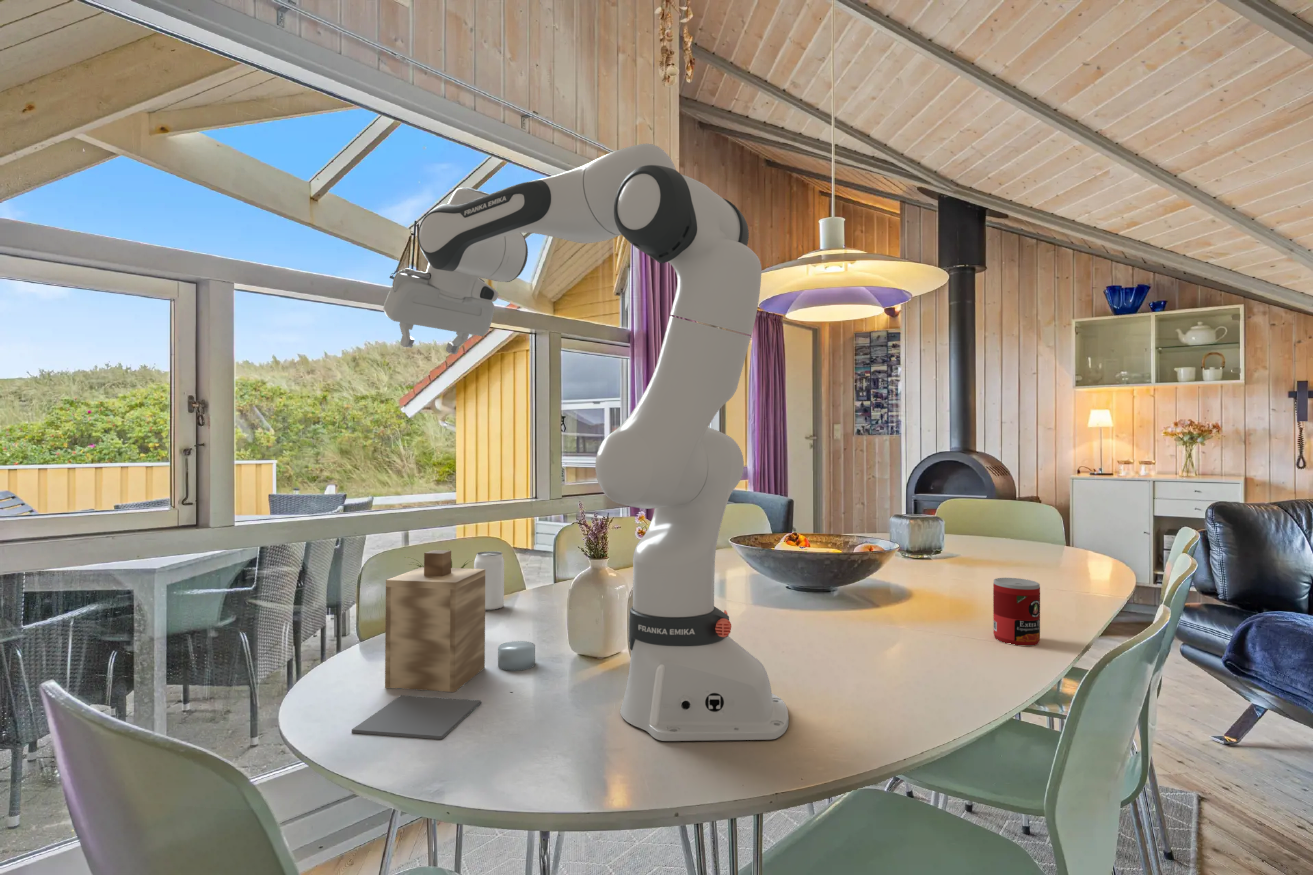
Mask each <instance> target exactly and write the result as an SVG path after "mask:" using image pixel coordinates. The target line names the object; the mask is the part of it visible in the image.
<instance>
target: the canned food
mask: <svg viewBox="0 0 1313 875" xmlns="http://www.w3.org/2000/svg"><path fill="white" fill-rule="evenodd" d="M992 589H993V590H992V591H993V593H992V595H993V597H992V598H993V599H992V600H993V604H992V605H993V606H992V607H993V610H992V611H993V612H992V613H993V615H992V616H993V625H992V626H993V636H994V638H995V640H997V639H998V640H999V642H1000V641H1002V642H1001V643H1003V642H1005V643H1004V644H1007V643H1011V644H1015V645H1014V646H1018V645H1034V646H1037V645H1039V643H1040V640H1041V584H1040V582H1037V581H1035V580H1030V579H1025V578H1019V577H1018V578H1017V577H996V578H994V579H993V588H992ZM998 640H997V641H998ZM1011 644H1010V645H1011Z"/></svg>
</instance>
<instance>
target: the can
mask: <svg viewBox="0 0 1313 875" xmlns="http://www.w3.org/2000/svg"><path fill="white" fill-rule="evenodd" d="M473 561H474V562H473V569H485V611H495V609H497V610H499V609H498V608H500V609H502V608H503V607H504V604H505V559H504V557H503V552H501V551H497V550H496V551H493V550H492V551H490V550H489V551H480V552H477V553H476V556H475V559H474V560H473Z"/></svg>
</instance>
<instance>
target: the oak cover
mask: <svg viewBox="0 0 1313 875" xmlns="http://www.w3.org/2000/svg"><path fill="white" fill-rule="evenodd" d="M423 555H424V556H423V566H424V567H423V566H422V567H417V568H418V569H417V568H414V569H412V570H410V571H407V572H404V573H402V574H398V575H396V576H394V577H391V578H388V579H385V628H384V629H385V631H384V633H385V634H384V635H385V636H384V638H385V639H384V641H385V642H384V644H385V646H384V647H385V648H384V650H385V651H384V653H385V654H384V656H385V658H384V660H385V661H384V688H386V689H397V688H402V689H401V690H414V689H415V691H416V689H417V691H429V692H431V691H432V692H449V693H456V692H457V691H458V690H459V689H461V688H462V687H463V686H464V685H465V684H468V682H469V681H471V680H473V678H474V677H476V676H477V675H478V674H480V673H481V671H483V670H484V669H486V667H485V665H486V664H485V662H486V652H485V651H486V610H485V569H474V568H465V567H464V568H461V567H452V568H451V559H452V550H450V549H448V550H447V549H445V550H444V549H442V550H440V549H433V550H429V551H427V552H424V554H423ZM403 688H404V689H403Z"/></svg>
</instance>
